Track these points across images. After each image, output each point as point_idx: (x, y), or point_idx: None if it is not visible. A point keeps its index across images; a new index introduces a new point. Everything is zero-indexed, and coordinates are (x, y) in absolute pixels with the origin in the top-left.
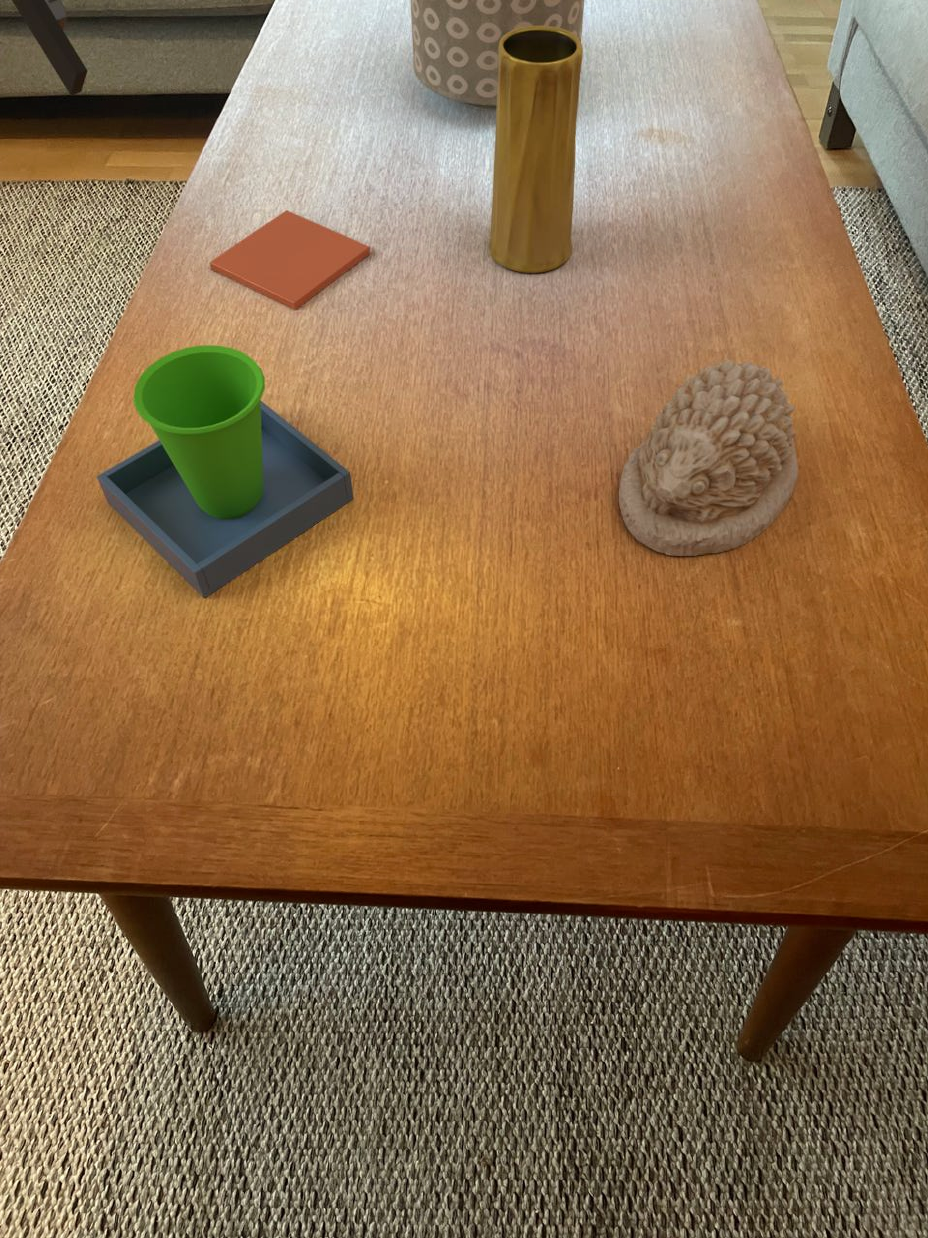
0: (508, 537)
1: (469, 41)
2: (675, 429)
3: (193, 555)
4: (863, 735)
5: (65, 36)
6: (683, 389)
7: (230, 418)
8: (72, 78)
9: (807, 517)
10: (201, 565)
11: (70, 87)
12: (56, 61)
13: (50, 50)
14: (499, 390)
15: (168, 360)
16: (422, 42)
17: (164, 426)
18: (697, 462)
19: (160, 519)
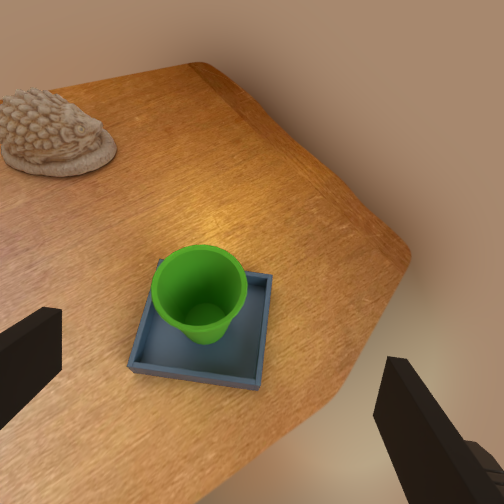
0: (143, 198)
1: None
2: (64, 120)
3: (254, 307)
4: (161, 79)
5: (6, 330)
6: (32, 124)
7: (210, 249)
8: (58, 334)
9: None
10: (266, 275)
11: (59, 356)
12: (34, 373)
13: (23, 379)
14: (30, 259)
15: (189, 325)
16: None
17: (244, 273)
18: (80, 111)
19: (247, 344)
